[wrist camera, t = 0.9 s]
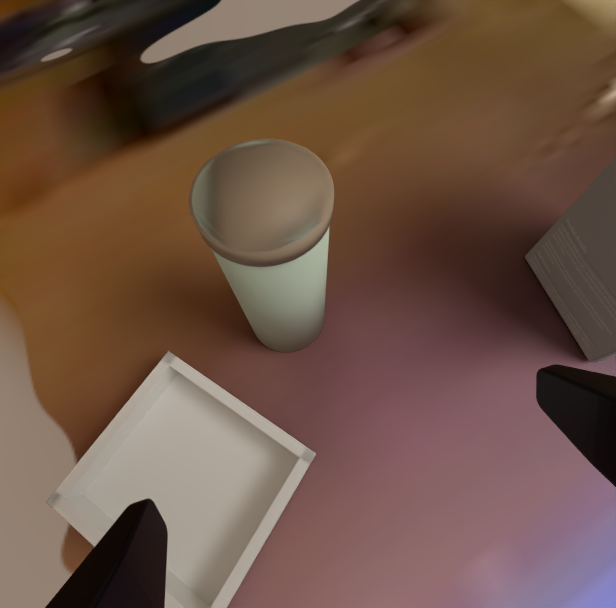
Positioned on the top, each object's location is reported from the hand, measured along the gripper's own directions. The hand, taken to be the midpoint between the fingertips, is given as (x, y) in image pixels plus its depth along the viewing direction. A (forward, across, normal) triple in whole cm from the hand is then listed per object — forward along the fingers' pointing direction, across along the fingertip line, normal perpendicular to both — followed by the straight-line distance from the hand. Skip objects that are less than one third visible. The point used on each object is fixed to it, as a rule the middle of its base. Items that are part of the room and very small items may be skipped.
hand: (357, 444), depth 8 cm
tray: (+10, +8, +8) cm, 15 cm away
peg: (+15, 0, +3) cm, 16 cm away
